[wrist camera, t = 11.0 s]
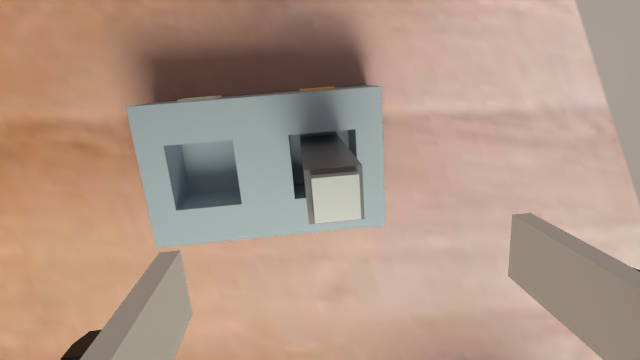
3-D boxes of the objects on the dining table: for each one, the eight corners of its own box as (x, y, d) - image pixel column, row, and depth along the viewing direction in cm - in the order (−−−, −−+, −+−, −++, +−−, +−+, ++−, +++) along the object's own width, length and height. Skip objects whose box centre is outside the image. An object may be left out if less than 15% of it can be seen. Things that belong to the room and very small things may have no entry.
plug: (303, 173, 35) (309, 229, 22) (299, 137, 34) (304, 173, 21) (339, 169, 35) (367, 223, 22) (336, 134, 34) (364, 167, 21)
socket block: (177, 222, 37) (156, 248, 31) (153, 100, 34) (125, 104, 28) (371, 203, 38) (385, 225, 32) (366, 83, 35) (381, 83, 29)
